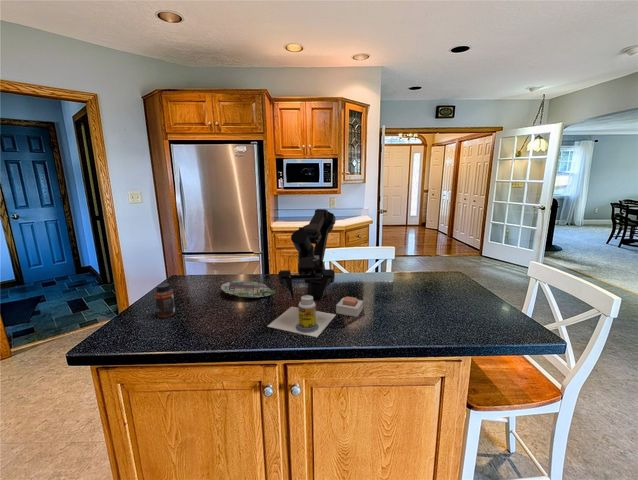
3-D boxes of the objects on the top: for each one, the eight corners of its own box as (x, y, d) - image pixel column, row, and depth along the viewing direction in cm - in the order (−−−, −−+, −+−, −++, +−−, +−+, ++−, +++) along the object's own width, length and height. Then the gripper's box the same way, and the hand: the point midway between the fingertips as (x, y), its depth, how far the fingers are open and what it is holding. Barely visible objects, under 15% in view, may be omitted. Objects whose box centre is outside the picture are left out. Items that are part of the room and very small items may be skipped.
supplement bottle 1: (179, 312, 110) (176, 283, 108) (166, 319, 105) (162, 288, 103) (166, 310, 112) (163, 281, 110) (153, 317, 107) (149, 286, 105)
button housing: (336, 313, 110) (336, 305, 109) (343, 304, 117) (343, 297, 116) (357, 316, 107) (357, 309, 106) (363, 308, 114) (363, 300, 113)
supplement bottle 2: (296, 329, 97) (295, 299, 95) (302, 321, 103) (301, 293, 101) (312, 331, 96) (312, 301, 94) (317, 323, 101) (317, 295, 99)
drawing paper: (267, 326, 100) (267, 325, 100) (291, 307, 115) (291, 306, 115) (317, 337, 93) (317, 336, 93) (335, 315, 108) (335, 314, 108)
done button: (342, 306, 110) (342, 300, 110) (346, 302, 114) (346, 296, 114) (353, 308, 109) (353, 302, 108) (357, 304, 112) (357, 298, 112)
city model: (286, 300, 127) (287, 286, 126) (231, 307, 114) (232, 291, 113) (261, 285, 147) (262, 272, 147) (213, 289, 134) (213, 275, 133)
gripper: (277, 247, 99) (276, 291, 91) (334, 246, 100) (337, 289, 92) (280, 263, 109) (279, 304, 100) (331, 262, 110) (334, 303, 101)
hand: (307, 300), depth 98 cm, fingers open, 9 cm apart
